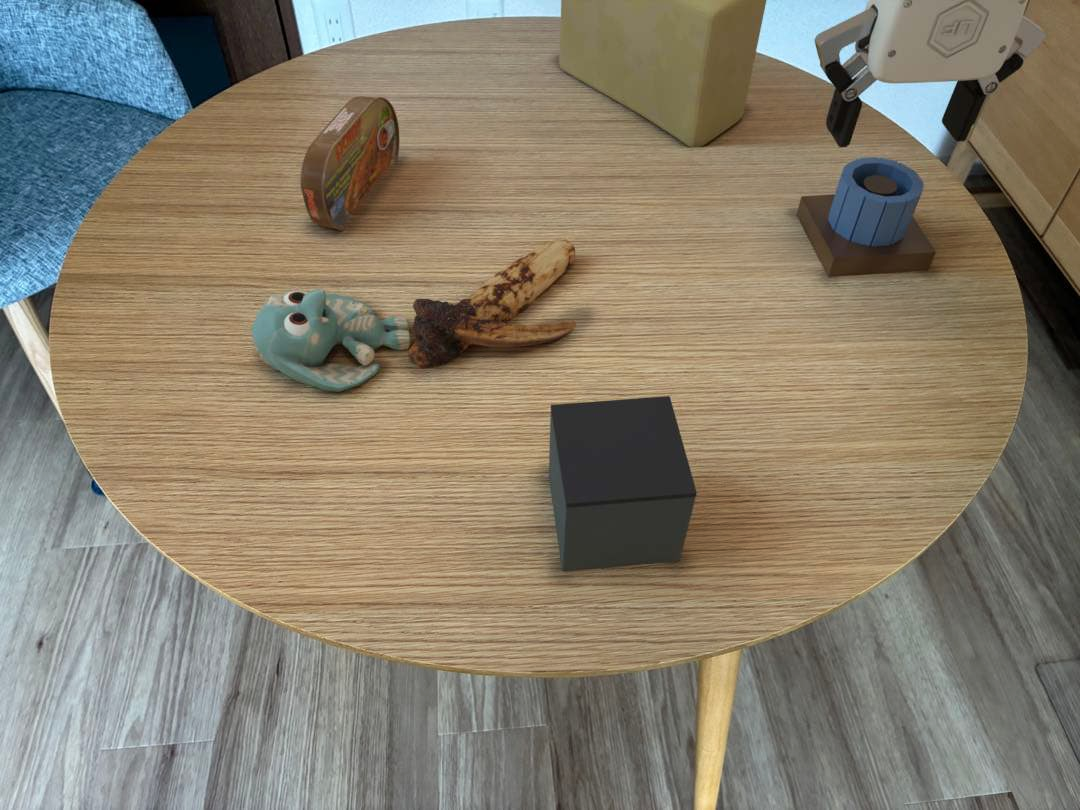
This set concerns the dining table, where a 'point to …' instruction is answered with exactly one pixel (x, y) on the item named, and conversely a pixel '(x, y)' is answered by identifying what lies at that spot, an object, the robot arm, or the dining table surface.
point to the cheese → (666, 58)
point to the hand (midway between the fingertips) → (895, 135)
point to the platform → (859, 258)
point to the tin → (349, 159)
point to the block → (619, 483)
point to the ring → (874, 203)
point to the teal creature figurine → (323, 337)
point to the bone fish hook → (492, 310)
